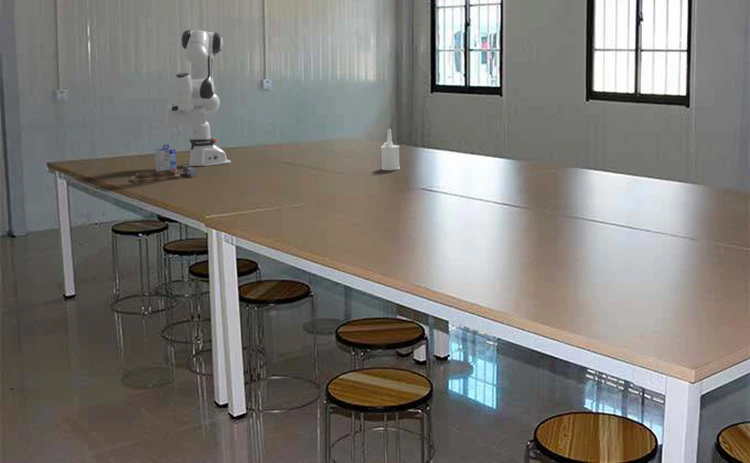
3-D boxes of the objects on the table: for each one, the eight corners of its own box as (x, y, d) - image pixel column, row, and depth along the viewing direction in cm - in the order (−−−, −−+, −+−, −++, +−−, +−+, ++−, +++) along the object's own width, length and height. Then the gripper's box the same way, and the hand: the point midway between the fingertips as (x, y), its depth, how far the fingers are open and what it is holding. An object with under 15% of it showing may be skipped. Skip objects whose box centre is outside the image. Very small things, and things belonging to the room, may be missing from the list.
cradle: (174, 175, 459) (174, 168, 458) (180, 178, 448) (180, 171, 448) (130, 179, 450) (130, 172, 449) (135, 183, 439) (135, 175, 438)
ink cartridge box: (177, 172, 470) (175, 144, 467) (170, 174, 465) (168, 145, 462) (163, 171, 475) (160, 144, 472) (155, 173, 470) (153, 145, 467)
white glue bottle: (403, 169, 453) (402, 129, 449) (387, 171, 449) (386, 130, 444) (392, 166, 462) (391, 127, 458) (376, 168, 457) (375, 129, 453)
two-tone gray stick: (183, 174, 464) (182, 165, 463) (190, 173, 465) (189, 164, 464) (190, 177, 451) (189, 168, 450) (197, 176, 453) (197, 168, 452)
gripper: (203, 104, 458) (205, 132, 461) (163, 107, 450) (165, 135, 452) (207, 105, 453) (209, 133, 455) (166, 108, 444) (168, 136, 447)
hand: (187, 134), depth 454 cm, fingers open, 8 cm apart
